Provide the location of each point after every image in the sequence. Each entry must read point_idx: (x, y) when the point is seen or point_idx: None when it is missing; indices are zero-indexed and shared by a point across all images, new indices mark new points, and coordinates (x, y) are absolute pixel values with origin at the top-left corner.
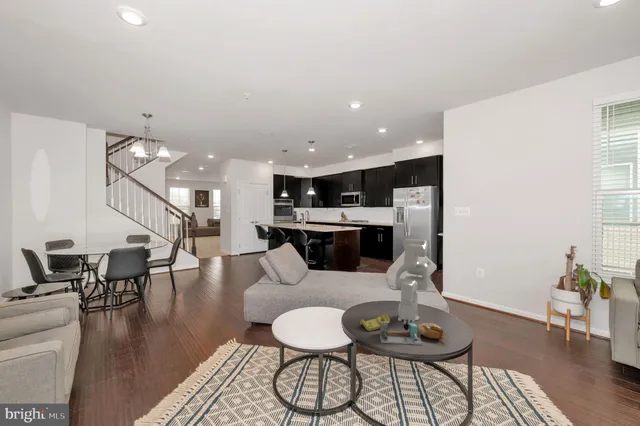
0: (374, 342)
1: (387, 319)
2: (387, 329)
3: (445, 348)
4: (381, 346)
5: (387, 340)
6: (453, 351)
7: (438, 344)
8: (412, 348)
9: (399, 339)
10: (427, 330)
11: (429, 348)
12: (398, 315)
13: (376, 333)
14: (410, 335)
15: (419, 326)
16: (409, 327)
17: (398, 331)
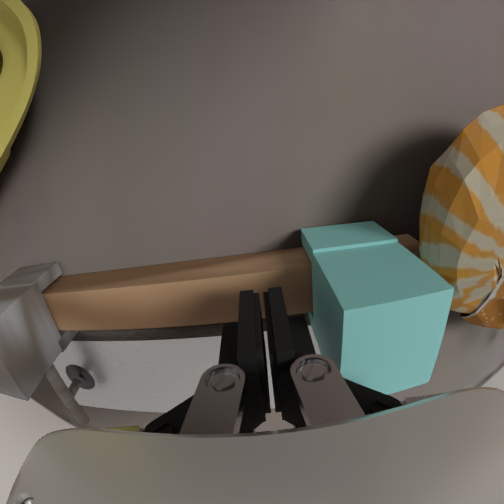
0: (46, 390)
1: (23, 27)
2: (49, 367)
3: (483, 359)
4: (94, 424)
5: (103, 402)
6: (495, 370)
7: (478, 328)
8: (283, 428)
9: (187, 386)
10: (501, 315)
11: (399, 397)
12: (39, 440)
13: (5, 272)
14: (309, 316)
15: (478, 250)
16: (326, 305)
17: (162, 286)
